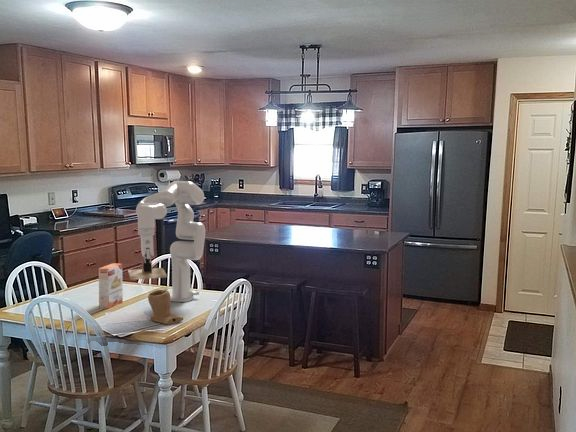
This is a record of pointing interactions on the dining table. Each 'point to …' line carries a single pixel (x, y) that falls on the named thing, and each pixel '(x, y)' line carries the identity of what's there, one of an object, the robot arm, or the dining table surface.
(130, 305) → the dining table surface
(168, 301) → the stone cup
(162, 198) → the robot arm
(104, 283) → the cracker box
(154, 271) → the lid
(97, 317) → the dining table surface
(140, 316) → the mat
